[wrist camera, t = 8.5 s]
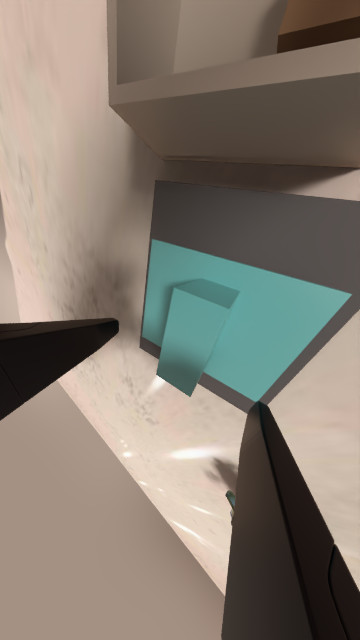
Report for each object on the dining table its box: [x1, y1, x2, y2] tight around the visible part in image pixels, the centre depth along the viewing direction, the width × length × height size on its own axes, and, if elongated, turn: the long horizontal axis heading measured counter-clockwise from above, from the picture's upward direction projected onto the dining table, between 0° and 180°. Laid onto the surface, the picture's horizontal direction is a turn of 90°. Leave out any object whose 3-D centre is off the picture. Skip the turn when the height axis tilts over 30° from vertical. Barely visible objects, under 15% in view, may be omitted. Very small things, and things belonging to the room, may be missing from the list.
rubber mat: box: [140, 180, 360, 414], centre depth 14 cm, size 17×19×1 cm
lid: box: [142, 239, 352, 402], centre depth 11 cm, size 13×10×6 cm
